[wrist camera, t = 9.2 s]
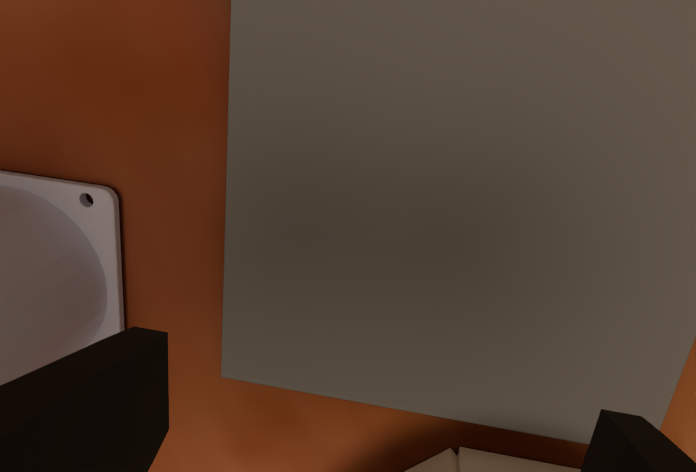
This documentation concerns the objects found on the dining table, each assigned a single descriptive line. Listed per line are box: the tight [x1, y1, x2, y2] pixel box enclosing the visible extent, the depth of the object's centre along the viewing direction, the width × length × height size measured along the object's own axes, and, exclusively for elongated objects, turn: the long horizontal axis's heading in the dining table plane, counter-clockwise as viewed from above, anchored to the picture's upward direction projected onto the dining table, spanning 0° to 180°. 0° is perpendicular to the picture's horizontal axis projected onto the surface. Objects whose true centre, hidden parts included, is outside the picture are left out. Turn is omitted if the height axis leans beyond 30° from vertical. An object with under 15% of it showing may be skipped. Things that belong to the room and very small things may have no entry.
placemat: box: [221, 0, 696, 444], centre depth 17 cm, size 16×16×1 cm
